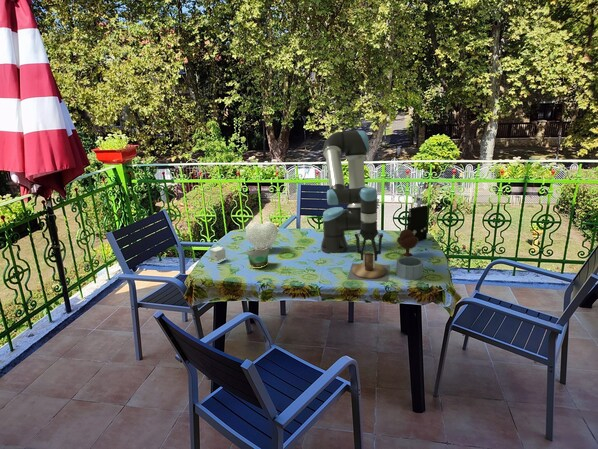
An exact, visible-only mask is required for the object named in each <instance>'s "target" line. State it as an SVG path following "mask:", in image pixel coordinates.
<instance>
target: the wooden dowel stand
mask: <svg viewBox="0 0 598 449" xmlns="http://www.w3.org/2000/svg"><path fill="white" fill-rule="evenodd" d="M364 253H365V267H363V262H362V263H357V264H358V265H356V266H354V267H353V274H354V275H355V276H357V277H360V278H364V279H375V278H380V277H382V276H384V275H385V274H386V268H385V267H384V266H382V265H383V264H379V263H376V262H375V268H373V253H374V252H364Z"/></svg>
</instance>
